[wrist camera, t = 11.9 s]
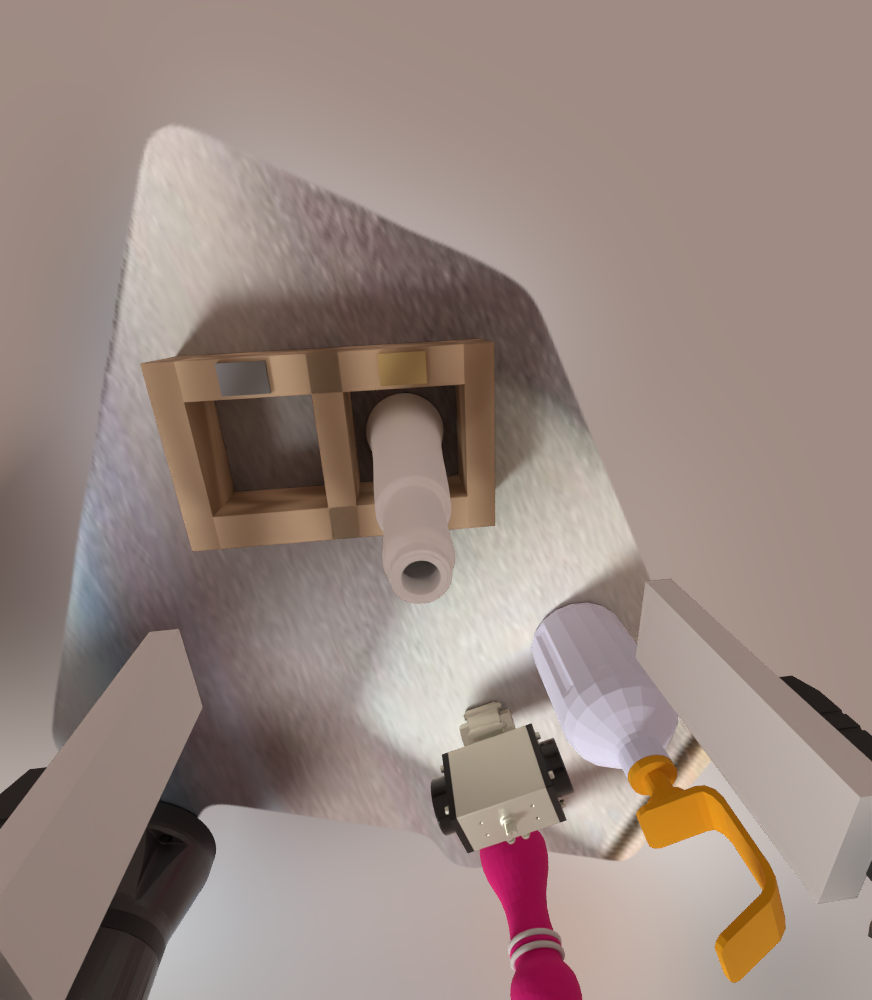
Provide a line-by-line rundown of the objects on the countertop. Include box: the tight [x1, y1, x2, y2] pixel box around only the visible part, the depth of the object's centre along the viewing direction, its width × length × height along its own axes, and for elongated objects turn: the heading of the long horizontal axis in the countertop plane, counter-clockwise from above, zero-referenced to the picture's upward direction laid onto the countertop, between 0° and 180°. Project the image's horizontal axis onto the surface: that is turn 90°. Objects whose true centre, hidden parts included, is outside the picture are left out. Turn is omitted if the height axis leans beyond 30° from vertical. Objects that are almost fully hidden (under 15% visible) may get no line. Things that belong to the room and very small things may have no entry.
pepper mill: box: [480, 830, 582, 1000], centre depth 45 cm, size 7×7×20 cm
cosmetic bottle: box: [366, 393, 455, 604], centre depth 27 cm, size 6×6×22 cm
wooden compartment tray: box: [140, 339, 495, 551], centre depth 34 cm, size 22×13×5 cm, turn 93°
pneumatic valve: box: [431, 701, 574, 853], centre depth 43 cm, size 6×12×12 cm, turn 110°
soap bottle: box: [531, 602, 786, 983], centre depth 35 cm, size 9×9×25 cm
